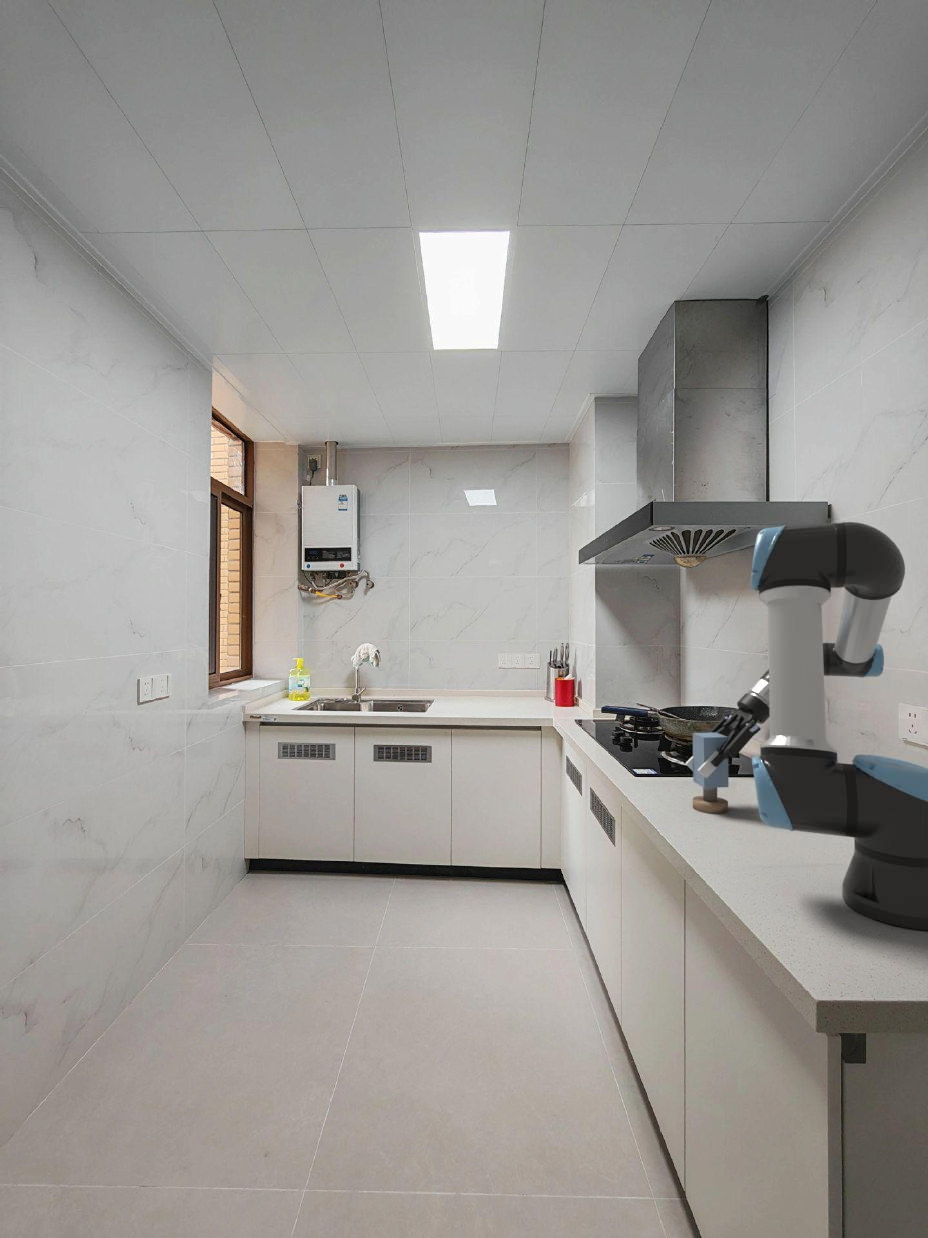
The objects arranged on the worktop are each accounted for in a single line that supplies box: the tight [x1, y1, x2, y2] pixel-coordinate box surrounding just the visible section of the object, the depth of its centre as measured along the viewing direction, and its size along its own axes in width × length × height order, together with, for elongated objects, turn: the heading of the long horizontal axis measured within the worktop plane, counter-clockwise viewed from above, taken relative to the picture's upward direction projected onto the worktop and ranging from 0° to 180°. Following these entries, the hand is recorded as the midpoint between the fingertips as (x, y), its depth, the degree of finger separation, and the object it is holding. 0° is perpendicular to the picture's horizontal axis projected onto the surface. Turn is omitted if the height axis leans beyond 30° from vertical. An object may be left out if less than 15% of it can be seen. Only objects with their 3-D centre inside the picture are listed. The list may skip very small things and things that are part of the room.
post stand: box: [692, 787, 729, 815], centre depth 151 cm, size 8×8×8 cm
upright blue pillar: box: [692, 732, 730, 789], centre depth 151 cm, size 6×6×12 cm
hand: (695, 770), depth 151 cm, fingers closed on upright blue pillar, 6 cm apart
